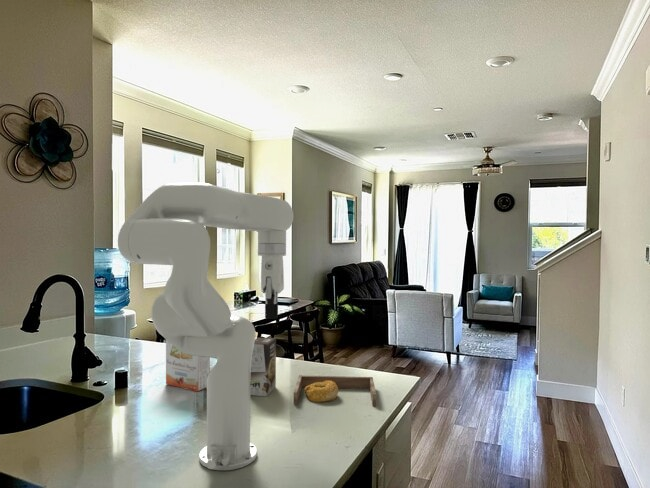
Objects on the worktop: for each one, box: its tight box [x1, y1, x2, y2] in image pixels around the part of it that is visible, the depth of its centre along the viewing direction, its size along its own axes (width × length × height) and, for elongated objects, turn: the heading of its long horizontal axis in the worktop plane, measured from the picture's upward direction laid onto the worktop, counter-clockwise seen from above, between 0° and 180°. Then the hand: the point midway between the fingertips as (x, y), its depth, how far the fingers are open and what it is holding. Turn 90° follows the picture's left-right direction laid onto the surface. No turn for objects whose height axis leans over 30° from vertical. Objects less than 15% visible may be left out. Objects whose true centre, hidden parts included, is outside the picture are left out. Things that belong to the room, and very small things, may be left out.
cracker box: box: [165, 339, 211, 392], centre depth 150 cm, size 14×6×21 cm, turn 62°
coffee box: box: [250, 337, 277, 397], centre depth 146 cm, size 9×6×16 cm
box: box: [293, 374, 377, 407], centre depth 143 cm, size 16×24×4 cm, turn 88°
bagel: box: [303, 380, 339, 403], centre depth 142 cm, size 10×11×5 cm
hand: (271, 318), depth 124 cm, fingers closed
